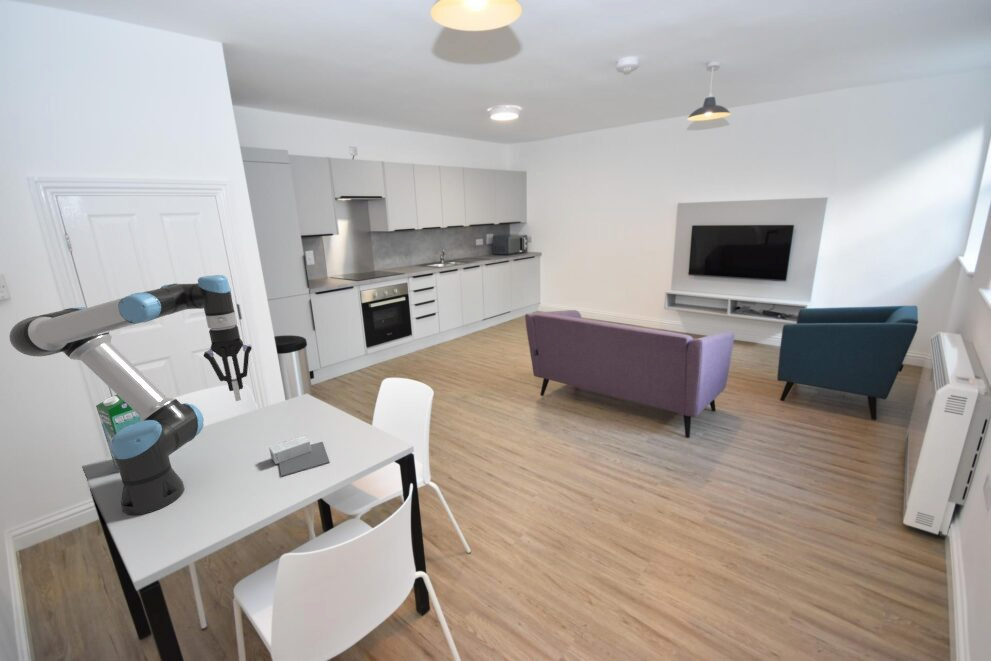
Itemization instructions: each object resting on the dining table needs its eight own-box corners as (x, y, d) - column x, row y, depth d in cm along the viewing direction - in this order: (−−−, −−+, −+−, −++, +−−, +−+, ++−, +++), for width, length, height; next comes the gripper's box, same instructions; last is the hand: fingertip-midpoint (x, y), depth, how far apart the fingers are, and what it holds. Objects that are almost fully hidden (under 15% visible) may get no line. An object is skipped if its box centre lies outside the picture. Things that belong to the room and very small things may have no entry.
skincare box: (275, 464, 146) (311, 451, 154) (273, 453, 145) (309, 441, 153) (270, 457, 151) (306, 445, 158) (268, 446, 150) (304, 434, 157)
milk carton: (113, 464, 152) (93, 399, 145) (143, 452, 159) (125, 389, 153) (126, 470, 148) (106, 403, 141) (156, 457, 155) (138, 393, 149)
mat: (281, 477, 140) (281, 475, 140) (278, 454, 154) (277, 453, 154) (329, 463, 147) (329, 461, 147) (322, 442, 161) (322, 441, 161)
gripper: (196, 333, 124) (213, 408, 130) (247, 326, 130) (262, 398, 136) (198, 327, 131) (215, 399, 137) (247, 321, 137) (261, 390, 143)
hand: (238, 399), depth 137 cm, fingers closed
